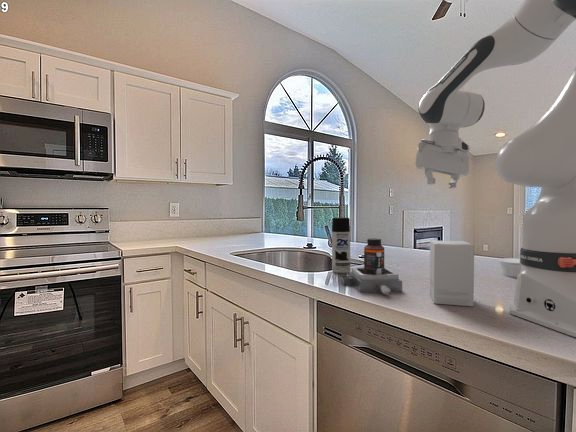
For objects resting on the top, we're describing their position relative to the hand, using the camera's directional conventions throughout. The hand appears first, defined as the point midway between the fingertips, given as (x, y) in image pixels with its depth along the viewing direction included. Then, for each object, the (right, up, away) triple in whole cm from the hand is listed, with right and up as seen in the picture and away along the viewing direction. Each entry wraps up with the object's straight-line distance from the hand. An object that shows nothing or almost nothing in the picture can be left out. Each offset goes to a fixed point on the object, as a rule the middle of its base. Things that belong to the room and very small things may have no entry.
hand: (442, 186), depth 103 cm
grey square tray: (-25, -31, -8) cm, 40 cm away
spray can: (-30, -30, +16) cm, 45 cm away
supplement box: (-8, -31, -21) cm, 38 cm away
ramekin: (+30, -30, +7) cm, 43 cm away
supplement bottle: (-23, -28, -5) cm, 37 cm away
